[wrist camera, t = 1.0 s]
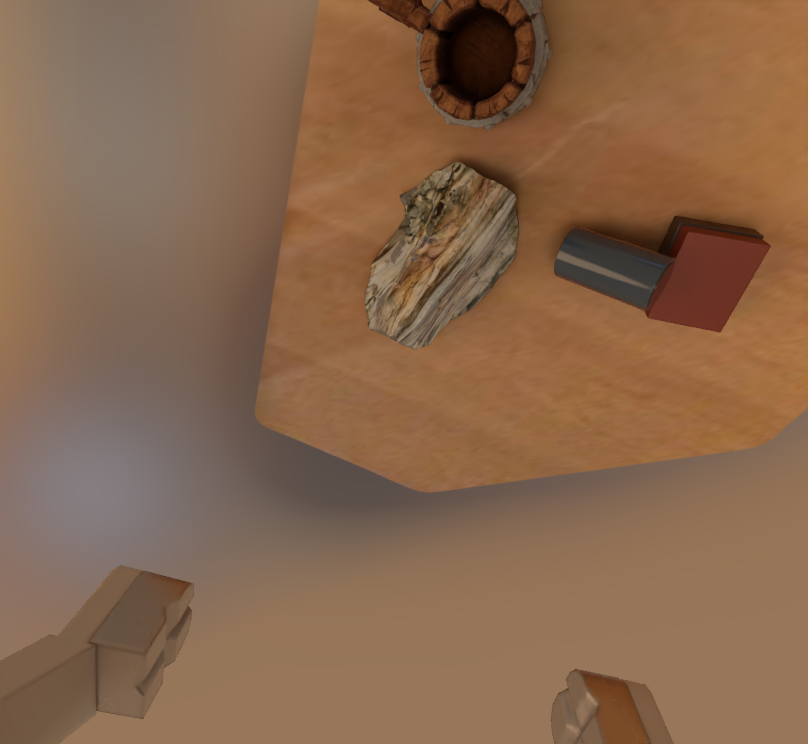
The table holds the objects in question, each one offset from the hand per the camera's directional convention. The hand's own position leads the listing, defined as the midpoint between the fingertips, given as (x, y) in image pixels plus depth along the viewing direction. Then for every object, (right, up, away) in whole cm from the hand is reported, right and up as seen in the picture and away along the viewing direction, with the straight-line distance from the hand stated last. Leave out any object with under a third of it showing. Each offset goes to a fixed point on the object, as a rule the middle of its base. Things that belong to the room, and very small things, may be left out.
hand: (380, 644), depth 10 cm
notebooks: (+32, +17, +41) cm, 55 cm away
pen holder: (+18, +19, +41) cm, 49 cm away
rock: (+4, +20, +47) cm, 51 cm away
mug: (+7, +37, +35) cm, 51 cm away
